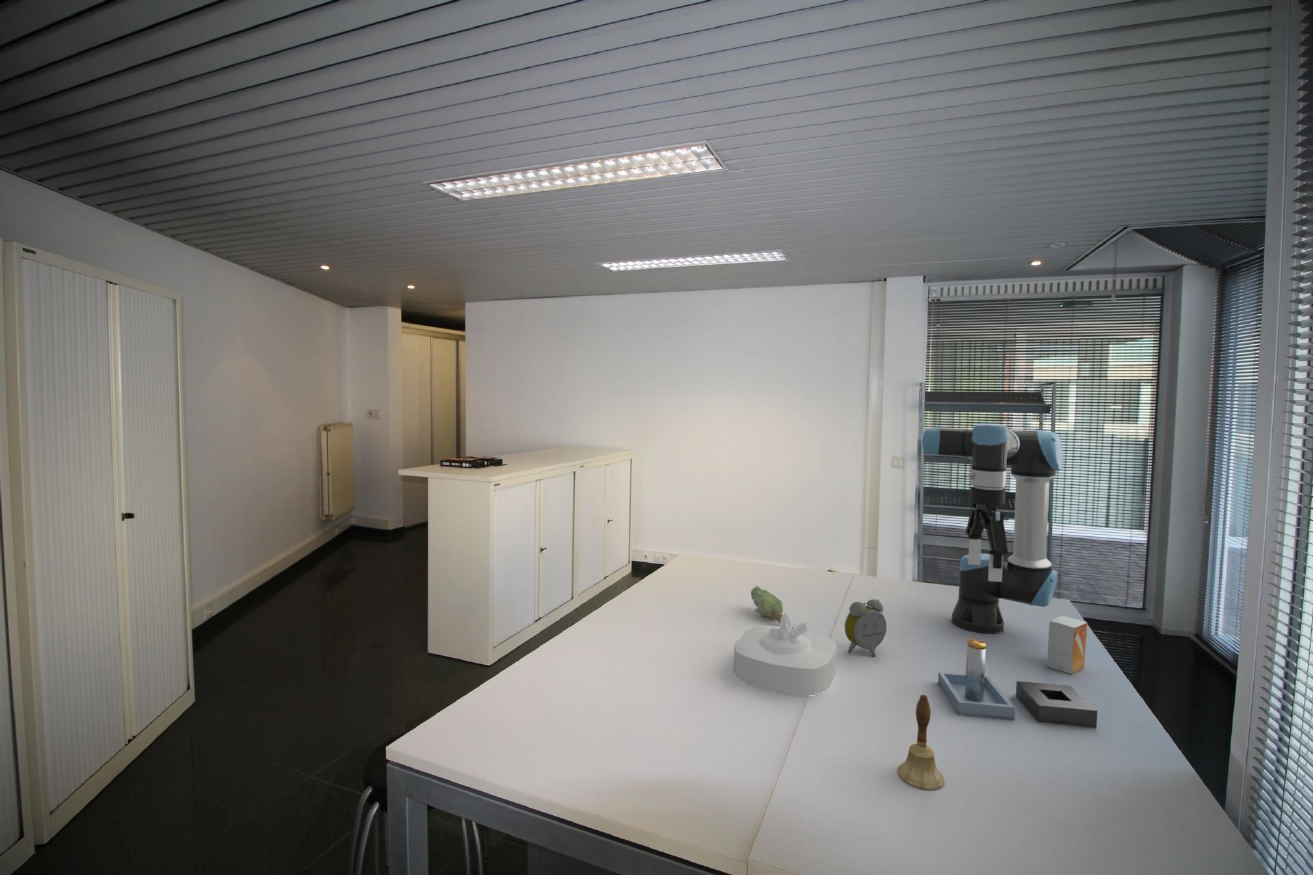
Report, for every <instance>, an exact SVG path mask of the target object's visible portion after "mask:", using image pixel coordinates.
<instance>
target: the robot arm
mask: <svg viewBox="0 0 1313 875" xmlns="http://www.w3.org/2000/svg"><path fill="white" fill-rule="evenodd" d="M921 443H922V444H921V445H922V449H923V452H924V453H925V454H926V455H929V456H930V455H931V456H932V455H933V456H940V457H941V456H942V457H958V458H959V457H960V458H967V459H969V460H971V468H970V473H968V477H969V478H970V485H971V487H970V488H969V490H970V491H969V501H970V502H971V507H970V508H971V509H970V513H969V517H968V520H967V525H966V528H965V534H966V535H967V537H968V554H966V555H963V556H962V557H961V558H960V563H959V568H958V570H959V575H958V577H959V578H958V579H959V581H958V599H957V601H956V604H955V606H954V608H953V611H952V612H951V622H952V624H954V625H955V626H957V627H959V628H961V629H964V630H966V631H970V632H976V633H982V634H997V633H1002V632H1003V631H1004V629H1005V621H1004V619H1003V618H1004V617H1003V615H1002V611H1001V609H1000V604H999V603H1000V599H1002V600H1006V601H1011V602H1015V603H1016V602H1017V603H1021V604H1026V605H1029V606H1035V607H1042V608H1045V607H1048V606H1049V605H1050V604H1051V602H1052V600H1053V597H1054V595H1055V591H1056V586H1057V582H1058V574H1059V572H1058V571H1057V570H1055V569H1052V566H1053V565H1052V562H1051V561H1050V560H1049V559H1048V558H1047V542H1048V540H1047V539H1048V515H1049V494H1050V493H1049V492H1050V481H1051V480H1053V479H1054V478H1056V476H1057V475H1056V474H1057V473H1056V472H1060V471H1062V469H1063V465H1064V464H1063V460H1064V457H1063V456H1064V455H1063V446H1062V442H1061V439H1060V436H1059V435H1058V434H1057V433H1055V432H1053V431H1046V430H1040V429H1039V430H1035V429H1034V430H1033V429H1031V430H1028V429H1026V430H1025V429H1009V428H1008V426H1007V425H1005V424H1003V423H977V424H975V425H974V426H973V428H952V427H939V426H937V427H927V428H926V429H925V430H924V432H923V435H922V440H921ZM1007 468H1010V475H1011V476H1012V477H1013V478H1015V499H1014V503H1015V504H1014V524H1013V525H1014V529H1013V533H1014V534H1013V554H1011V555H1010V556H1008V557H1007V562H1006V561H1003V560H1004V556H1005V555H1008V554H1009V551H1008V543H1007V538H1006V537H1007V536H1006V529H1005V523H1004V521H1005V520H1004V519H1005V518H1004V516H1005V514H1004V512H1003V511H998V506H1003V505H1005V503H1006V489H1005V488H1006V486H1007V474H1008V473H1007V472H1008V471H1007ZM984 530H985V531H986V535H987V540H988V544H989V549H990V550H989V551H988V552H987V553H982V539H983V535H982V534H983V532H984Z"/></svg>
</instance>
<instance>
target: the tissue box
mask: <svg viewBox="0 0 1313 875" xmlns="http://www.w3.org/2000/svg"><path fill="white" fill-rule="evenodd" d="M782 615H783V616H782V617H781V620H780V624H779V625H762V626H761V625H760V626H754V627H750V628H748V629H746V630H745V631H744V633H743V634H742V635H741V637H739V638H738V639H736V641H735V642H734V645H733V646H734V647H733V648H734V649H733V674H734V673H735V675H736V677H737V678H738V679H740V680H741V681H742V683H743V682H745V683H746V684H745V683H744V684H745V685H748V684H749V685H748V686H750V685H751V686H750V687H753V686H755V687H754V688H757V687H758V689H761V688H763V689H762V690H765V689H766V690H767V691H769V690H770V691H769V692H773V691H775V693H779V694H782V693H783V695H787V696H793V697H800V698H801V697H802V698H808V696H809V695H815V694H818V693H822V692H823V691H826V690H827V689H828V688H829V689H830V687H831V685H832V683H833V681H834V679H833V678H835V677H834V675H835V676H836V673H837V672H836V669H837V667H836V666H837V644H836V643H835V642H834V641H833V640H832V639H831V638H828V637H827V636H825V635H823V634H820V633H816V632H813V631H812V632H811V631H807V630H808V628H809V625H808V624H807V622H805V623H804V622H803V623H801V624H798V625H796V626H795V627H793V619H792V617H791V615H789V614H788V613H784V614H782ZM792 627H793V629H792ZM735 675H734V676H735ZM736 677H735V678H736ZM737 678H736V679H737ZM738 679H737V680H738ZM740 680H739V681H740ZM832 680H833V681H832ZM741 681H740V682H741ZM831 682H832V683H831ZM830 684H831V685H830ZM829 686H830V687H829ZM829 689H828V690H829ZM828 690H827V691H828ZM827 691H826V692H827Z"/></svg>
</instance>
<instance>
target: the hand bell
mask: <svg viewBox="0 0 1313 875" xmlns="http://www.w3.org/2000/svg"><path fill="white" fill-rule="evenodd" d="M928 698H929V697H928V696H927V695H926V694H921V695H920V696H919V698H918V701H917V704H916V707H915V719H916V722H917V738H916V743H913V744H910V746H909V748H908V752H907V757H906V759H905V761H904V762H902V763H901V764H900V765H899V766H898V768H897V774H898V776H899V775H900V776H899V777H900V779H902V780H903V782H905V781H906V782H905V783H907V784H908V785H910V786H912V787H915V788H917V789H922V790H925V791H926V790H928V791H932V790H933V791H934V790H939V789H940V788H941V789H942V787H943V786H944V785H945V779H944V776H943V775H942V773H941V772H940V771H939V769H938V768H937V765H936V760H935V753H934V750H933V749H932V748H931V747H929V746H928V745H927V741H928V740H927V736H928V735H927V734H928V733H927V730H928V726H929V724H930V720H931V712H932V711H931V706H930V703H929V699H928Z"/></svg>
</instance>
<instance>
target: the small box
mask: <svg viewBox="0 0 1313 875" xmlns="http://www.w3.org/2000/svg"><path fill="white" fill-rule="evenodd" d="M1048 626H1049V627H1048V644H1047V657H1046V658H1047V660H1046V666H1047V667H1050V668H1052V669H1055V670H1057V671H1060V672H1063V673H1066V674H1068V675H1073V674H1075V673H1076V672H1078V671H1080V670H1082V669H1084V668H1085V660H1086V659H1085V658H1086V647H1087V646H1086V645H1087V634H1088V633H1087V632H1088V622H1087V621H1084V620H1080V619H1076V618H1073V617H1069V616H1065V615H1060V616H1058V617H1055V618H1053V619H1052V620H1049V625H1048Z"/></svg>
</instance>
